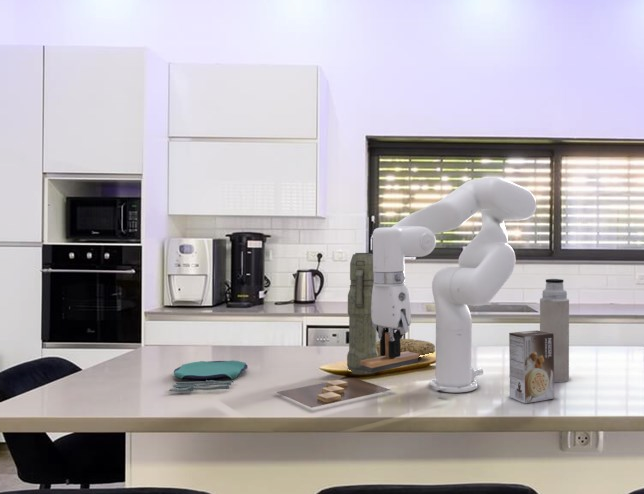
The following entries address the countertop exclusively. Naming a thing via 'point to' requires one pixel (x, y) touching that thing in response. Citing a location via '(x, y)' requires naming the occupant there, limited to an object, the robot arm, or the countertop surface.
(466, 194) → the robot arm
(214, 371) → the cutlery set
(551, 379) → the brown white upright box
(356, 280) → the olive green flask
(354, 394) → the tray
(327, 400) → the crumb
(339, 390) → the crumb
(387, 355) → the wooden knob plate
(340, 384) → the crumb
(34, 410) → the countertop surface
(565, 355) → the thermos bottle
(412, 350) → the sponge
